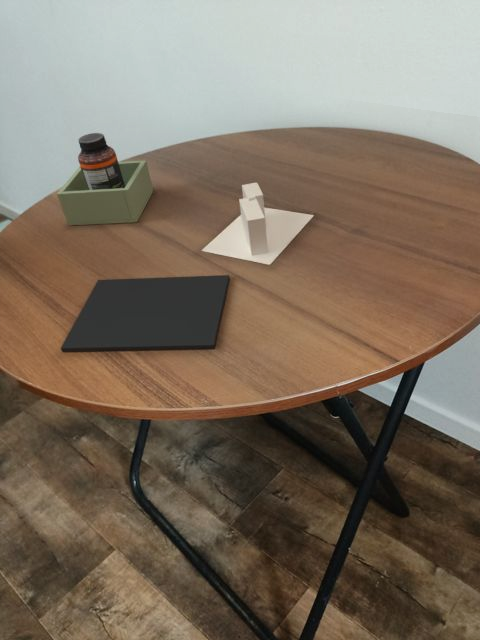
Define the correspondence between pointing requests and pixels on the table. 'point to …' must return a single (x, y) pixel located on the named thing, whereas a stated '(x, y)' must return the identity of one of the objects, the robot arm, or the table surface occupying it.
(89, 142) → the supplement bottle
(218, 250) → the napkin holder
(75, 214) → the bin
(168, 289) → the mat
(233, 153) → the table surface
